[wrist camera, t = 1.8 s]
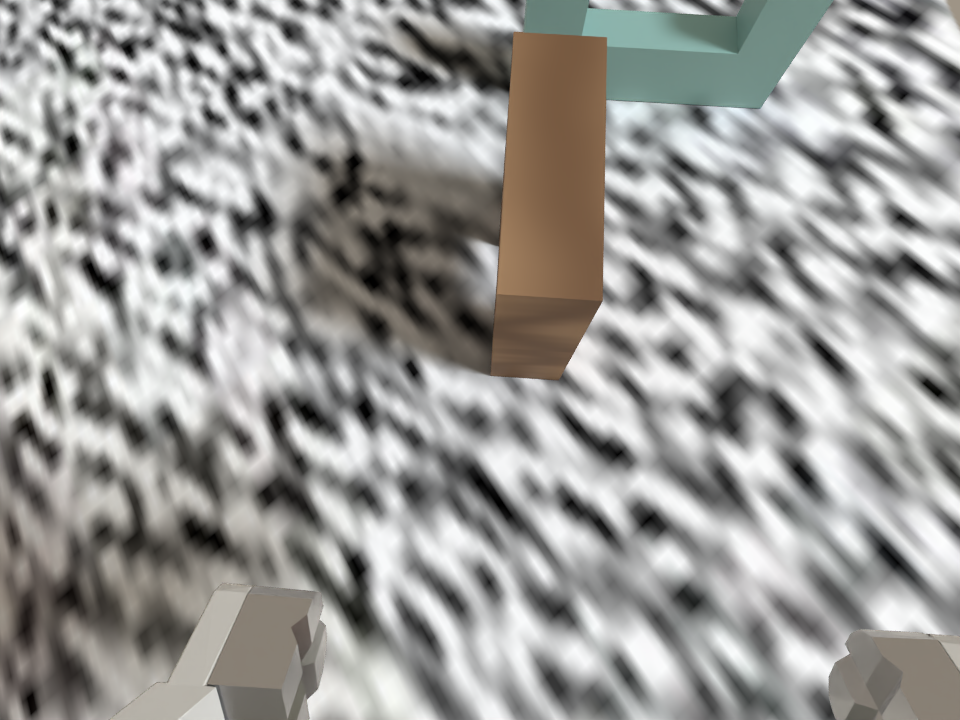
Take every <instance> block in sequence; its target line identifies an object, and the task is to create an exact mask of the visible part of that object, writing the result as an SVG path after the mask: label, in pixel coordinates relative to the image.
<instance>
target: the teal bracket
mask: <svg viewBox="0 0 960 720" xmlns="http://www.w3.org/2000/svg"><path fill="white" fill-rule="evenodd" d="M832 2H833V0H745V1H744V3H743V5H742V7H741V9H740V11H739V12H738V14H737V16H736V17H730V16H712V15H695V14H677V13H660V12H643V11H625V10H608V9H590V8H588V4H589V0H526V7H525V18H524V29H523V32H526V33H543V34H560V35H578V36H595V37H607V75H606V99H607V100H624V101H641V102H657V103H674V104H691V105H708V106H725V107H742V108H758V109H760V108H761V107H762V105H763V104H764V102H765V101H766V99H767V98H768V96H769V95H770V93H771V92H772V90H773V89H774V87H775V86H776V84H777V83H778V81H779V80H780V79H781V77H782V76H783V74H784V73H785V71H786V70H787V68H788V67H789V65H790V64H791V62H792V61H793V59H794V58H795V56H796V55H797V53H798V52H799V50H800V49H801V47H802V46H803V45H804V43H805V42H806V40H807V39H808V37H809V36H810V34H811V33H812V31H813V30H814V28H815V27H816V25H817V24H818V22H819V21H820V19H821V18H822V16H823V15H824V13H825V12H826V11H827V9H828V8H829V6H830V5H831V3H832Z"/></svg>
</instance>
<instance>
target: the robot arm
mask: <svg viewBox="0 0 960 720" xmlns="http://www.w3.org/2000/svg"><path fill="white" fill-rule="evenodd" d="M322 609H323V601H322V595H321V592H315V591H305V590H295V589H285V588H275V587H264V586H255V585H242V584H230V583H222V584H221V585H220V586H219V587H218V588H217V589H216V590H215V591H214V592H213V594H212V596H211V598H210V600H209V602H208V604H207V606H206V608H205V610H204V612H203V614H202V616H201V618H200V619H199V621H198V623H197V625H196V627H195V629H194V631H193V633H192V635H191V637H190V639H189V641H188V643H187V645H186V647H185V649H184V651H183V652H182V654H181V656H180V658H179V660H178V662H177V664H176V666H175V668H174V670H173V672H172V674H171V676H170V678H169V680H168V682H167V683H161V682H157V683H155V684H154V685H153V686H151V687H150V688H149V689H148V690H146V691H145V692H144V693H142V694H141V695H140V696H139V697H137V698H136V699H135V700H134V701H132V702H131V703H130V704H128V705H127V706H126V707H125V708H123V709H122V710H121V711H119V712H118V713H117V714H116V715H114V716H113V717H112V718H110V719H109V720H309V711H308V705H307V699H308V698H309V697H310V696H311V695H312V694H313V693H314V692H315V691H316V690H317V689H318V687H319V683H320V680H321V676H322V672H323V667H324V661H325V655H326V646H327V633H326V625H325V624H324V623H323V622H322V621H320V620H319V619H320V616H321V612H322ZM845 645H846V647H847V649H848V651H849V653H850V654H849V655H847V656H846V657H844V658H842V659H840V660H839V661H837V662H835V664H834V666H833V668H832V671H831V673H830V675H829V698H830V702H831V706H832V711H833V713H834V715H835V718H836V720H960V636H952V635H935V634H924V633H919V632H901V631H883V630H865V629H859V630H857V631H855V632H853V633H851V634H850V636H849V638H848V640H847V641H846V643H845Z"/></svg>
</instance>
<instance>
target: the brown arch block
mask: <svg viewBox="0 0 960 720" xmlns="http://www.w3.org/2000/svg"><path fill="white" fill-rule="evenodd" d="M606 75H607V37H595V36H578V35H560V34H543V33H526V32H514V36H513V50H512V64H511V78H510V91H509V105H508V119H507V133H506V147H505V161H504V175H503V189H502V204H501V219H500V235H499V257H498V273H497V287H496V300H495V313H494V328H493V343H492V359H491V374H490V376H501V377H517V378H532V379H547V380H559V379H560V377H561V375H562V373H563V371H564V370H565V368H566V366H567V364H568V362H569V361H570V359H571V357H572V355H573V353H574V352H575V350H576V348H577V346H578V344H579V343H580V341H581V339H582V337H583V335H584V334H585V332H586V330H587V328H588V326H589V324H590V323H591V321H592V319H593V317H594V315H595V314H596V312H597V310H598V308H599V306H600V305H601V303H602V301H603V246H604V189H605V132H606Z"/></svg>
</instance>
